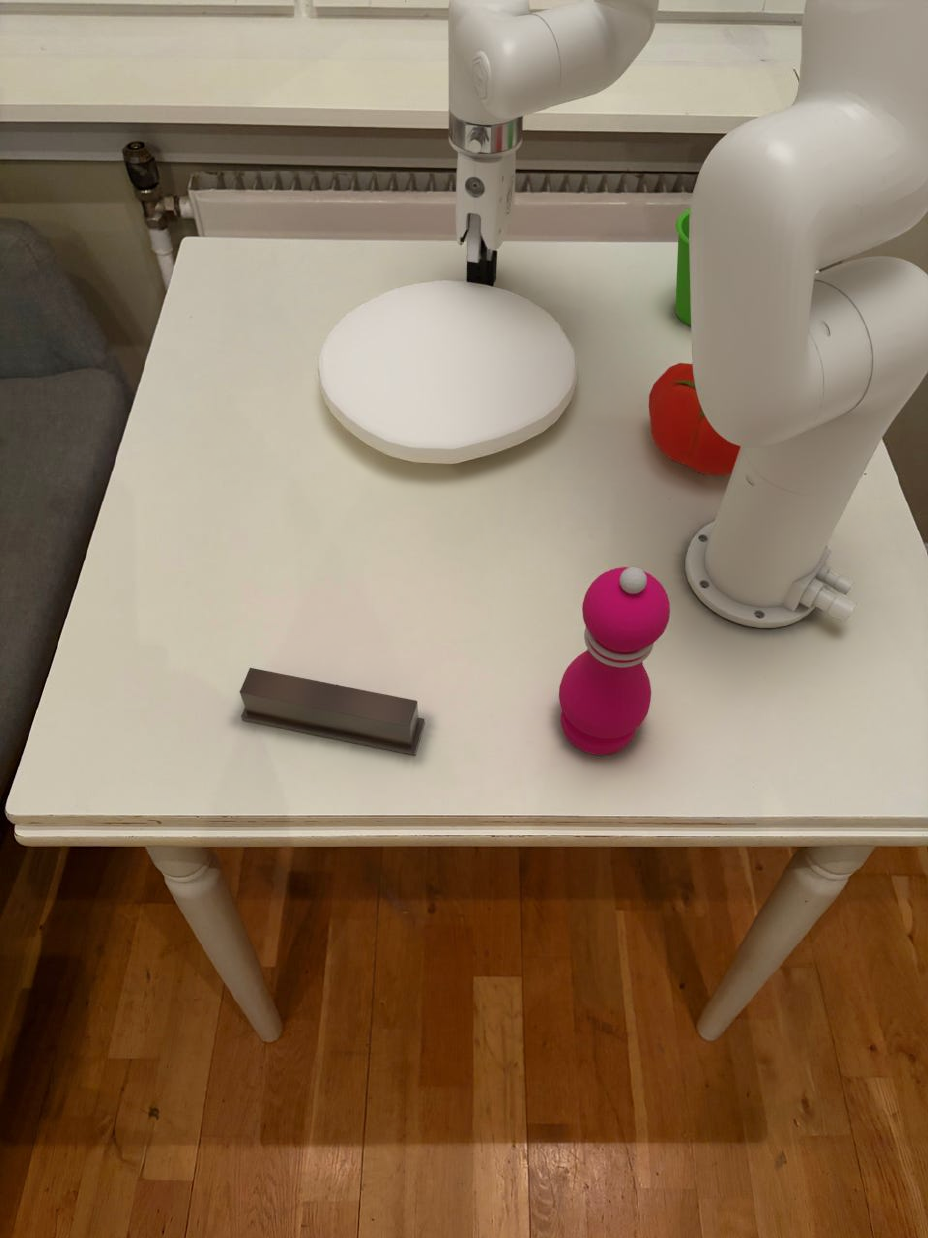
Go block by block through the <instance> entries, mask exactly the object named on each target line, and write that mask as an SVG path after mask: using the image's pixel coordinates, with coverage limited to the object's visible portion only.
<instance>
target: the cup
mask: <svg viewBox="0 0 928 1238" xmlns="http://www.w3.org/2000/svg"><path fill="white" fill-rule="evenodd" d="M689 221H690V208H687V209H686V210H685V211H683V212H682V213H680V216H679V217H678V218H677V220H676V223H675V229H676V230H675V231H676V232H677V235H678V237H677V238H678V239H677V259H676V282H675V283H676V284H675V304H674V306H675V307H674V308H675V313H676V316H677V318H678V319H679V320H680V321H681V322H682V323H684V324H686V325H688V326H691V297H690V252H689Z"/></svg>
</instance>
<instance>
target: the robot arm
mask: <svg viewBox="0 0 928 1238" xmlns="http://www.w3.org/2000/svg"><path fill="white" fill-rule="evenodd" d="M659 5H660V0H580V1H577V2H573V3H568V4H564V5H560V6H555V7H552V8H548V9H544V10H540V11H536V12H532V13H531V12H530V11H531V10H530V7H531V6H530V1H529V0H449V2H448V9H447V19H448V20H447V21H448V23H447V24H448V25H447V27H448V28H447V29H448V30H447V31H448V33H447V34H448V38H447V39H448V40H447V43H448V48H447V49H448V51H447V52H448V54H447V55H448V59H447V60H448V65H447V66H448V143H449V145H450V147H452V149H453V150H454V151H456V152H457V162H456V172H455V173H456V180H455V182H456V183H455V215H454V217H455V218H454V219H455V221H454V222H455V223H454V224H455V239H456V242H457V244H458V245H459V246H463V244H464V243H465V241H466V275H465V277H466V279H465V280H466V281H465V282H470V283H477V284H484V285H488V286H492V287H495V286H494V285H495V282H496V280H497V269H498V267H497V265H498V250H499V248H501V247H502V245H503V242H504V240H505V237H506V235H507V231H508V230H509V226H510V222H511V220H512V216H513V214H514V210H515V205H516V163H517V162H516V161H517V160H516V151H517V150H518V149H519V148H520V147H522V143H523V129H524V127H523V126H524V117H525V116H528V115H531V114H534V113H537V112H541V111H544V110H547V109H549V108H551V107H556V106H559V105H562V104H566V103H569V102H570V103H571V102H573V101H577V100H580V99H581V100H582V99H584V98H587V97H591V96H594V95H597V94H599V93H601V92H603V91H605V90H607V89H608V88H609V87H611V86H613V84H614V83H616V82H617V80H619V79H620V78H621V77H622V76H623V74H625V72H626V71H628V69H629V67H630V66H632V64H633V62H634V61H635V60H636V59H637V57H638V56H639V55H640V53H641V52H642V51H643V50H644V48H645V47H646V46H647V43H648V42H649V40H650V39H651V37H652V35H653V32H654V30H655V27H656V24H657V23H656V22H657V18H658V12H659ZM801 20H802V21H801V51H800V52H801V53H800V54H801V56H800V67H799V77H798V85H797V91H796V95H795V98H794V100H793V102H792V103H791V105H790V106H787V107H785V108H782V109H778V110H776V111H773V112H770V113H767V114H763V115H761V116H758V117H755V118H753V119H751V120H748V121H746V122H744V123H742V124H741V125H739V126H737V127H735V128H733V129H732V130H731V131H729V132H728V133H727V134H725V135H724V136H723V137H722V138H721V139H720V140H719V141H718V142H717V143H716V144H715V145H714V146H713V148H712V149H711V150H710V152H709V153H708V155H707V157H706V158H705V160H704V162H703V164H702V166H701V168H700V170H699V173H698V175H697V178H696V181H695V184H694V188H693V189H692V190H693V192H692V196H691V201H690V207H689V209H690V221H689V252H690V297H691V325H690V339H691V340H690V341H691V362H692V363H691V364H693V375H694V381H695V388H696V392H697V396H698V399H699V402H700V405H701V408H702V410H703V412H704V414H705V416H706V418H707V420H708V421H709V423H710V424H711V426H712V427H713V428H714V430H715V431H716V432H717V433H718V434H719V435H720V436H722V437H723V438H724V439H726V440H727V441H729V442H731V443H733V444H736V445H738V446H741V447H740V450H739V453H738V456H737V459H736V462H735V465H734V468H733V471H732V474H730V477H729V480H728V483H727V486H726V489H725V492H724V495H723V498H722V501H721V503H720V507H719V509H718V512H717V514H716V518H715V520H713V521H712V522H710V523H708V524H707V525H705V526H703V527H701V529H700V530H699V531H697V533H695V535H694V536H693V538H692V539H691V541H690V543H689V546H688V548H687V551H686V555H685V561H684V571H685V575H686V579H687V582H688V583H689V586H690V588H691V589H692V592H693V593H694V594H695V595H696V596H697V598H698V599H699V600H700V601H701V602H702V603H703V604H704V606H706V607H707V608H708V609H709V610H711V611H712V612H714V613H716V614H717V615H718V616H720V617H722V618H724V619H726V620H728V621H731V622H733V623H736V624H739V625H742V626H746V627H750V628H751V627H752V628H760V629H774V628H780V627H785V626H789V625H792V624H795V623H798V622H799V621H801V620H802V619H805V618H806V617H807V616H809V615H810V614H811V613H812V612H813V611H814V610H815V608H818V609H820V610H821V611H824V612H826V614H827V615H828V616H830V617H833V618H834V619H836V620H838V621H840V622H842V623H844V624H847V621H848V620H849V618H850V617H851V615H852V614H853V612H854V610H855V609H856V607H857V605H858V604H857V603H856V602H854V601H852V600H849V599H848V598H847V597H844V596H847V595H848V594H849V592H850V590H851V589H852V588H853V585H854V584H855V582H854V581H853V580H851V579H849V578H847V577H845V576H843V575H839V574H838V573H835V572H834V571H832V570H831V566H829V565H828V564H826V563H827V561H828V559H829V557H830V556H831V553H832V549H831V548H829V547H827V545H828V543H830V539H831V538H832V535H833V534H834V532H835V530H836V527H837V525H838V524H839V521H840V519H841V518H842V516H843V514H844V512H845V510H846V507H847V506H848V504H849V502H850V500H851V497H852V496H853V493H854V492H855V489H856V488H857V486H858V483H859V482H860V480H861V478H862V476H864V473H865V471H866V469H867V467H868V465H869V463H870V461H871V459H872V457H873V456H874V453H875V452H876V450H877V448H878V446H879V444H880V443H881V441H882V440H883V437H884V436H885V434H886V432H887V431H888V429H889V428H890V426H891V425H892V423H893V421H894V420H895V419H896V418H897V416H898V414H899V413H900V412H901V410H902V409H903V408H904V407H905V405H906V404H907V403H908V401H909V400H910V398H911V397H912V395H913V394H915V392H916V390H917V389H918V388H919V386H920V385H921V383H922V382H923V380H924V378H925V377H926V375H927V374H928V274H927V273H926V271H924V270H922V268H920V267H919V266H917V265H916V264H914V263H912V262H910V261H908V260H906V259H902V258H899V257H894V256H889V255H888V256H887V255H886V256H885V255H876V256H866V257H862V258H857V259H852V260H848V261H846V262H843V263H840V262H842V261H843V260H847V259H849V258H851V257H854V256H857V255H859V254H861V253H864V252H866V251H869V250H871V249H874V248H876V247H878V246H880V245H882V244H885V243H887V242H889V241H891V240H893V239H895V238H897V237H899V236H902V235H903V234H904V233H906V232H908V231H909V230H911V229H912V228H914V227H915V225H917V224H918V223H919V222H920V221H921V220H922V219H923V218H924V216H925V215H926V214H927V213H928V0H805V3H804V9H803V14H802V19H801ZM836 263H839V264H837V265H835V264H836ZM832 265H834V266H832ZM829 266H832V267H829ZM827 267H829V268H827ZM824 268H827V269H824ZM820 270H822V271H820ZM818 271H819V272H818ZM826 585H827V586H829V587H830V588H832V589H833V590H834V591H837V592H839V593H841V594H843V595H844V596H842V595H840V594H836V593H834V592H832V591H831V590H829V589H827V588H826Z"/></svg>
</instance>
